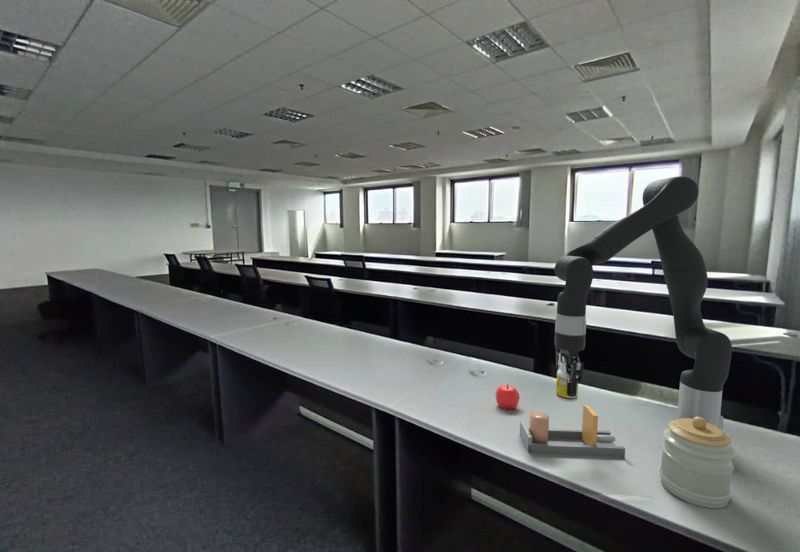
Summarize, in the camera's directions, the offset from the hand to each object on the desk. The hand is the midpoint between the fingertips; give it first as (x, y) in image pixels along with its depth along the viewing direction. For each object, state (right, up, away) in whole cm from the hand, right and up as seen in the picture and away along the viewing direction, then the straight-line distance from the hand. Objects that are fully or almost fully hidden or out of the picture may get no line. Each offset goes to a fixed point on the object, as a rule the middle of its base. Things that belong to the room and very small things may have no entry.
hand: (567, 390), depth 103 cm
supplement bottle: (0, -2, 0) cm, 2 cm away
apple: (-9, -14, +26) cm, 31 cm away
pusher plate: (+9, -15, +1) cm, 18 cm away
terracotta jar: (-7, -15, +2) cm, 17 cm away
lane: (+1, -16, +2) cm, 16 cm away
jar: (+22, -18, -16) cm, 33 cm away
